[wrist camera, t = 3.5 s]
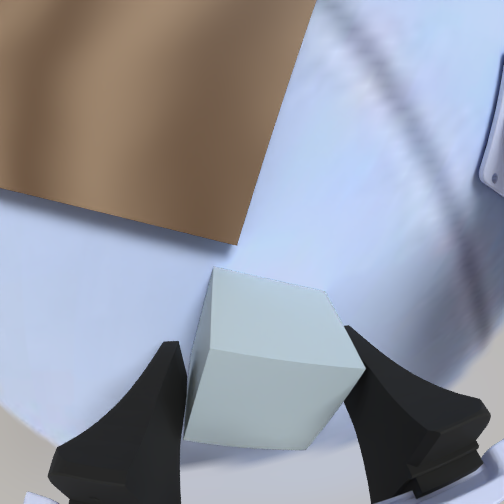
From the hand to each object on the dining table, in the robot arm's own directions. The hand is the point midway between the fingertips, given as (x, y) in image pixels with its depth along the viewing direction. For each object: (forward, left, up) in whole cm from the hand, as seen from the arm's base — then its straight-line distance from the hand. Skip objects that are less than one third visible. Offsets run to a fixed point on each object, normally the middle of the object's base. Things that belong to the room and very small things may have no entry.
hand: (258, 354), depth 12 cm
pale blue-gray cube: (0, 0, -2) cm, 2 cm away
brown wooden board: (+10, -11, -2) cm, 15 cm away
